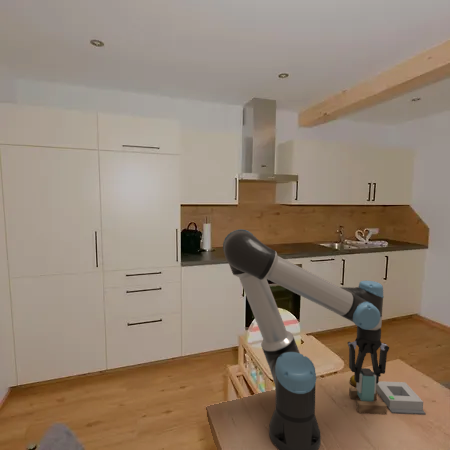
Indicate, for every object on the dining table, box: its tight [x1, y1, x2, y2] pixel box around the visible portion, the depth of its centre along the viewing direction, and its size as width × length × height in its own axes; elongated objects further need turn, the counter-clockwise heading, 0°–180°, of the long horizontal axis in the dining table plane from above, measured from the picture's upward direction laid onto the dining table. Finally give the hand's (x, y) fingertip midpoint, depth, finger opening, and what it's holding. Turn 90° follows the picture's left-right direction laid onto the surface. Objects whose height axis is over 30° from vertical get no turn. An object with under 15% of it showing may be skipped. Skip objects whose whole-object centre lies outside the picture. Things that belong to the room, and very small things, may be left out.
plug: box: [357, 367, 375, 402], centre depth 102 cm, size 4×4×10 cm
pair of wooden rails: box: [348, 387, 388, 415], centre depth 102 cm, size 9×9×3 cm
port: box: [376, 380, 427, 416], centre depth 105 cm, size 11×14×4 cm
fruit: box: [349, 374, 357, 388], centre depth 114 cm, size 8×8×4 cm
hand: (365, 390), depth 102 cm, fingers closed on plug, 4 cm apart
